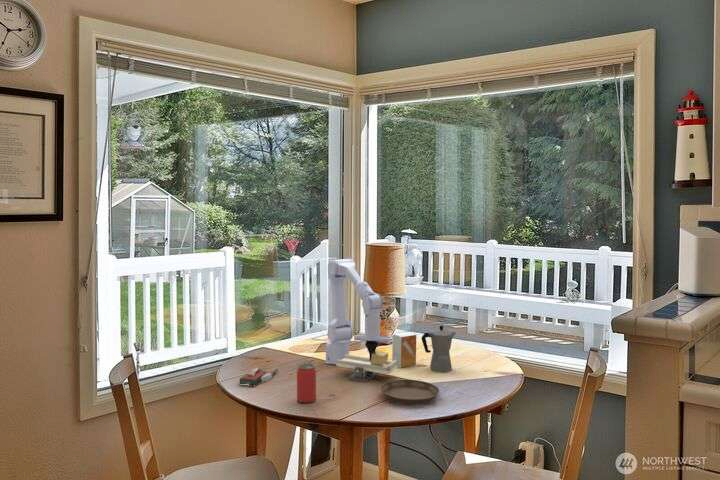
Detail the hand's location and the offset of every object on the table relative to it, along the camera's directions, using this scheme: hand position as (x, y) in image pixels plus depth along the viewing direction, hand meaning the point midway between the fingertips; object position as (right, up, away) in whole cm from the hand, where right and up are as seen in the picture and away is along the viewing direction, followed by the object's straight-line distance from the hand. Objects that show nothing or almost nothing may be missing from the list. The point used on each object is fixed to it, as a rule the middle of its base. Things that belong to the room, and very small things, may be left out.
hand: (372, 360), depth 234 cm
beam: (-3, -3, +2) cm, 5 cm away
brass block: (+3, -2, -1) cm, 3 cm away
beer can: (-23, -9, -27) cm, 36 cm away
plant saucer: (+13, -9, -23) cm, 28 cm away
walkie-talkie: (-44, -7, -3) cm, 44 cm away
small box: (+14, -6, +17) cm, 22 cm away
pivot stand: (-3, -6, +2) cm, 7 cm away
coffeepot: (+27, -6, +10) cm, 30 cm away
